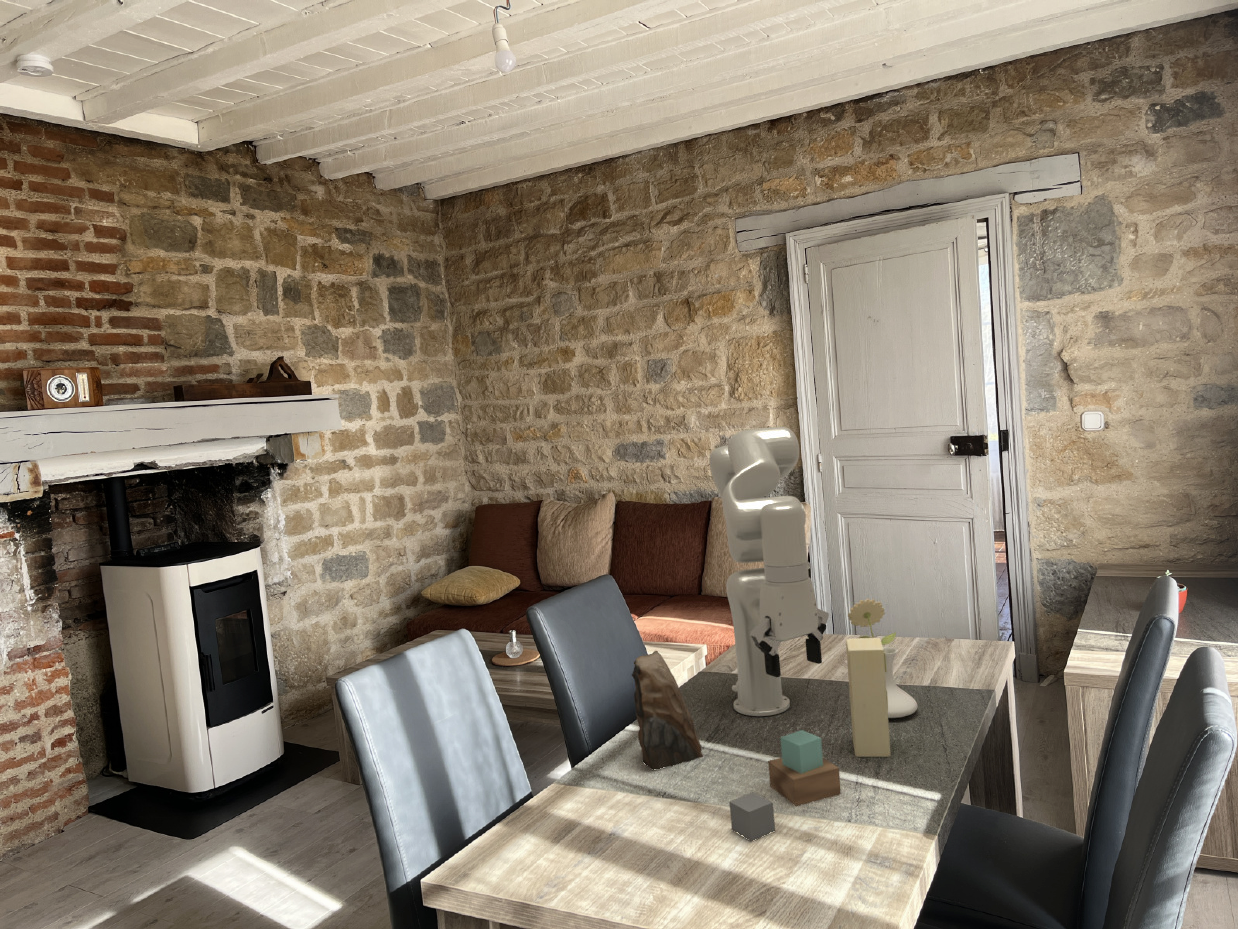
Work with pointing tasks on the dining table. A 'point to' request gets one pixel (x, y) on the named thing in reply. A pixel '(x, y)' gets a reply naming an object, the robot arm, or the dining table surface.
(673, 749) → the brown rock
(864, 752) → the tall cream block
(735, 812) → the grey cube
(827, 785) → the walnut block
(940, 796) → the dining table surface
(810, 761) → the teal cube
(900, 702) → the flower in vase
